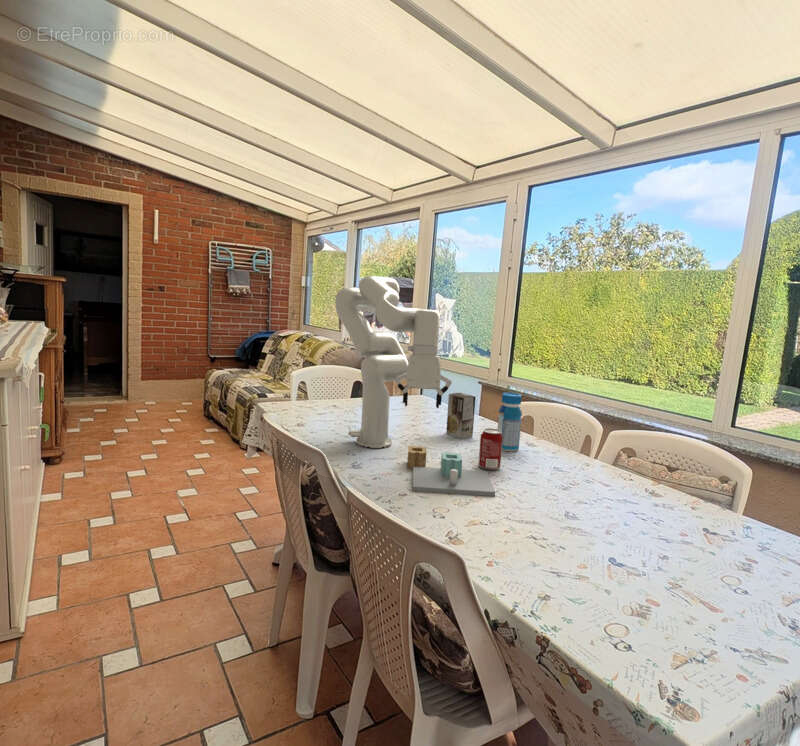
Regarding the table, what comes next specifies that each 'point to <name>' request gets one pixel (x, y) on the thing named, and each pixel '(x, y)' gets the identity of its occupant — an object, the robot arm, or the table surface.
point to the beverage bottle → (510, 421)
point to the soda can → (490, 449)
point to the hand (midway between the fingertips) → (421, 406)
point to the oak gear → (416, 456)
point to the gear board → (443, 486)
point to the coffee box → (460, 415)
